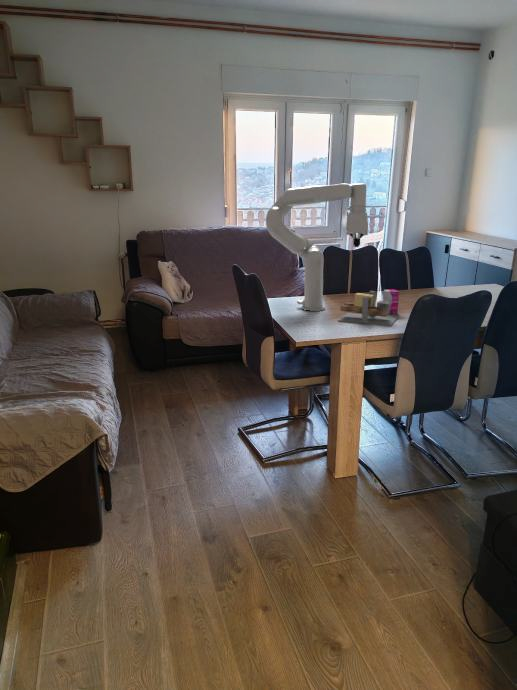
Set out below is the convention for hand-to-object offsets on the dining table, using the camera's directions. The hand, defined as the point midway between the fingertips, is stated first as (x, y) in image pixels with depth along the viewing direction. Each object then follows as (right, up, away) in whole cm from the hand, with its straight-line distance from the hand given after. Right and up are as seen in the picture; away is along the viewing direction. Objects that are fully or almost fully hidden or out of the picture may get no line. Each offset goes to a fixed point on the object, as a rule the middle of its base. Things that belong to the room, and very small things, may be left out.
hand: (356, 246), depth 260 cm
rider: (0, -33, -14) cm, 35 cm away
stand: (+3, -38, -13) cm, 40 cm away
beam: (+1, -34, -14) cm, 37 cm away
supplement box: (+17, -34, 0) cm, 38 cm away
